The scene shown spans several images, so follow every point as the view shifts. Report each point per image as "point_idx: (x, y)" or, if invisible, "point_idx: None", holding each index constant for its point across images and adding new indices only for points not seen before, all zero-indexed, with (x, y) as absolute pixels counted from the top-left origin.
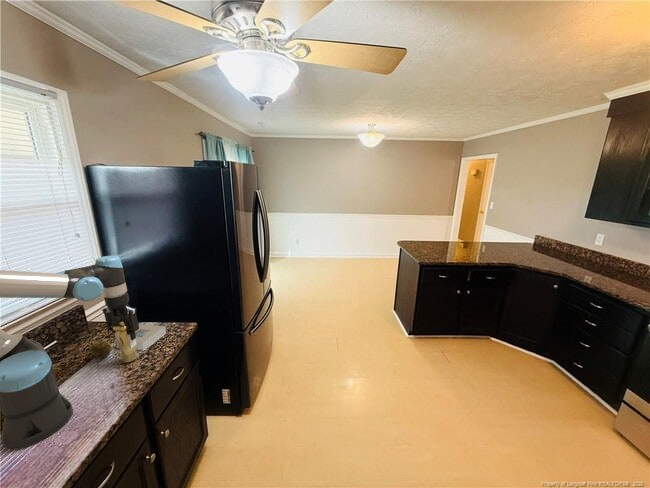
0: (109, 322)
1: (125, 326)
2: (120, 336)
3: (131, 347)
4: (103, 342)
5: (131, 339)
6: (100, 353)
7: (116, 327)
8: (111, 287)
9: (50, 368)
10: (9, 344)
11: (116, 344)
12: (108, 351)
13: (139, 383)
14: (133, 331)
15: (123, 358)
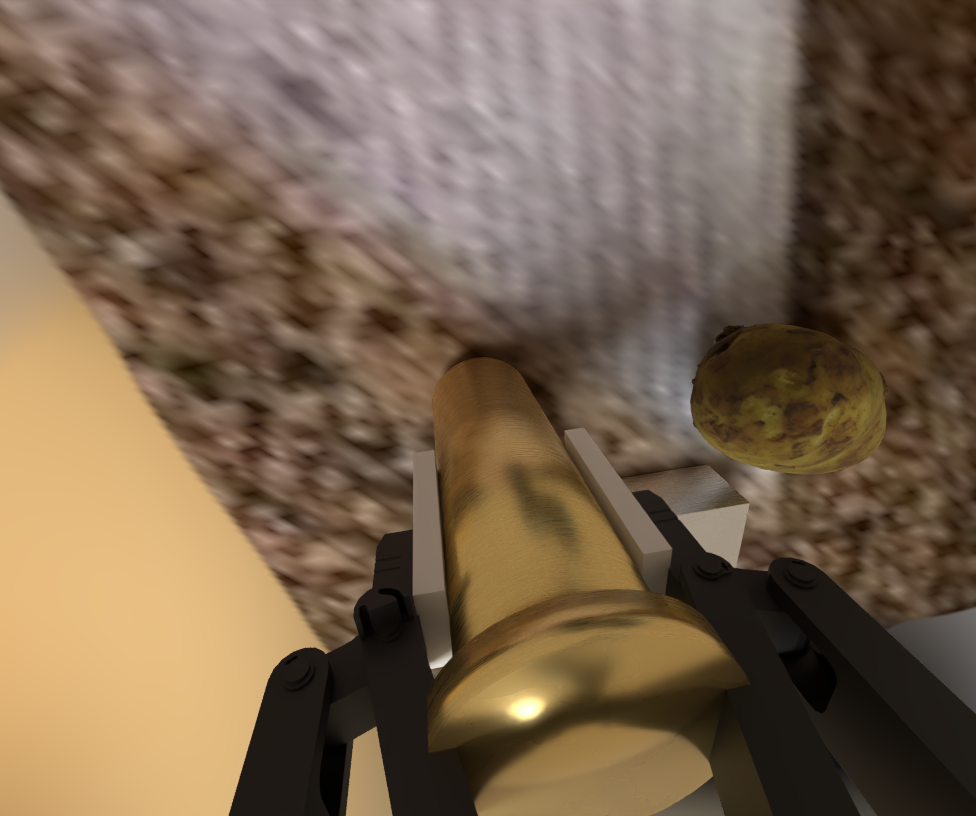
0: (906, 742)
1: (451, 752)
2: (516, 525)
3: (414, 459)
4: (789, 438)
5: (409, 536)
6: (728, 349)
7: (630, 675)
8: None
9: None
10: None
11: (720, 484)
12: (691, 397)
13: (90, 189)
14: (284, 675)
15: (489, 370)
